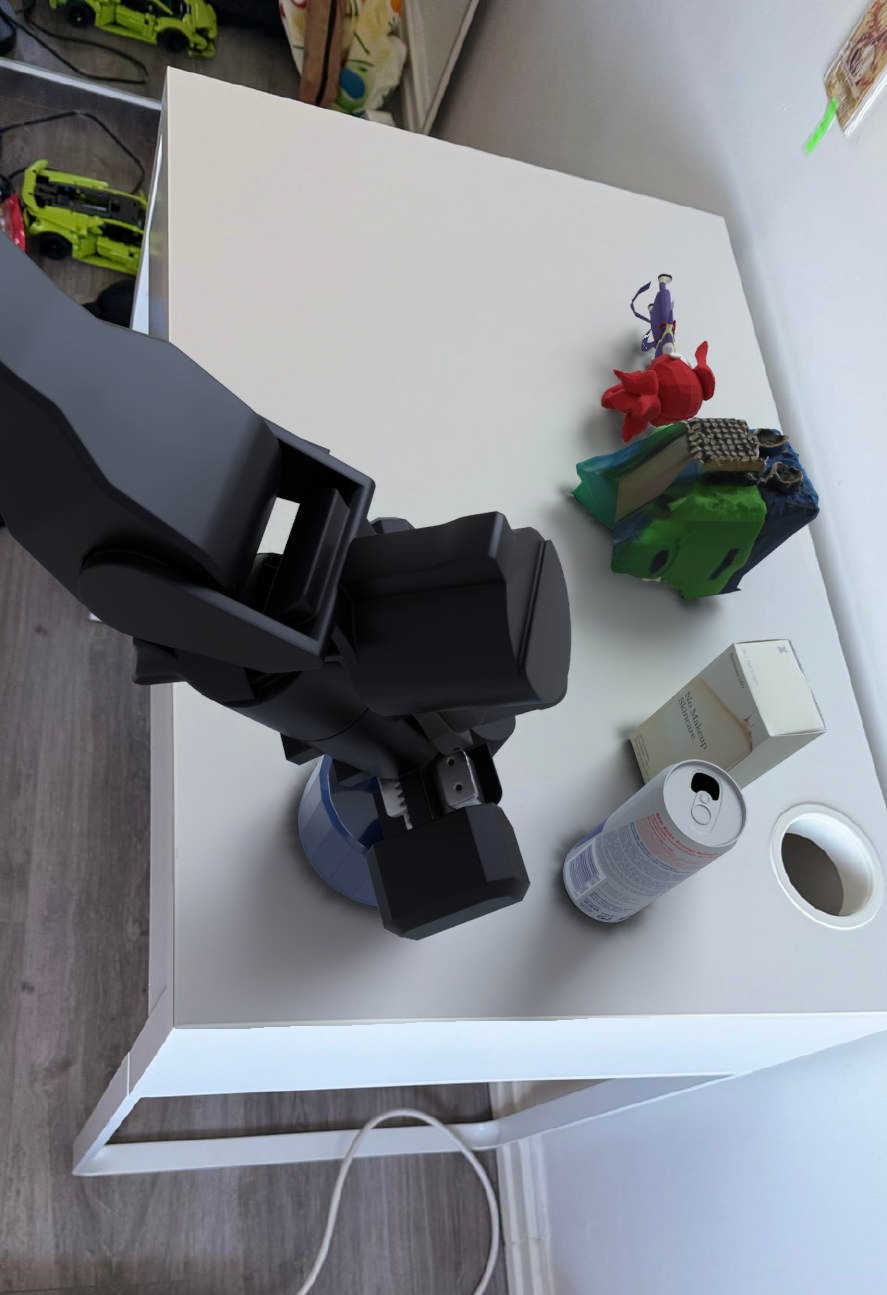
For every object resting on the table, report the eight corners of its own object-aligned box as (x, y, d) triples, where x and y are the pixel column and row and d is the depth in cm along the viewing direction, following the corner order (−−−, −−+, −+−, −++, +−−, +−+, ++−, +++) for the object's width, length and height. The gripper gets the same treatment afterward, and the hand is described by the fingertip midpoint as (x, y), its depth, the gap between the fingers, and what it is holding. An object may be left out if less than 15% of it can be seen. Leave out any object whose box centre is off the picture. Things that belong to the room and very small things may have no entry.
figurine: (685, 327, 91) (701, 468, 84) (585, 317, 90) (593, 458, 83) (711, 261, 85) (730, 406, 79) (604, 249, 84) (615, 395, 78)
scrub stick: (376, 836, 60) (447, 736, 50) (389, 779, 62) (460, 672, 51) (437, 855, 61) (520, 760, 50) (448, 799, 62) (531, 696, 52)
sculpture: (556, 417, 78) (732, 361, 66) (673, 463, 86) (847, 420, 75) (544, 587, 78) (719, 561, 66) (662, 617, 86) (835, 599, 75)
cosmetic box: (626, 735, 72) (728, 637, 61) (682, 730, 73) (790, 633, 63) (657, 823, 70) (768, 737, 59) (714, 815, 71) (831, 730, 61)
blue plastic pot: (279, 878, 60) (300, 841, 55) (319, 731, 64) (342, 685, 60) (442, 927, 62) (477, 895, 57) (470, 781, 66) (504, 741, 62)
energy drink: (646, 859, 68) (756, 778, 58) (632, 937, 65) (745, 866, 55) (569, 828, 67) (667, 740, 57) (552, 905, 64) (651, 827, 54)
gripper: (584, 814, 36) (686, 879, 50) (439, 379, 43) (565, 543, 57) (306, 925, 40) (472, 957, 54) (210, 508, 46) (381, 633, 60)
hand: (476, 764), depth 56 cm, fingers closed on scrub stick, 2 cm apart
